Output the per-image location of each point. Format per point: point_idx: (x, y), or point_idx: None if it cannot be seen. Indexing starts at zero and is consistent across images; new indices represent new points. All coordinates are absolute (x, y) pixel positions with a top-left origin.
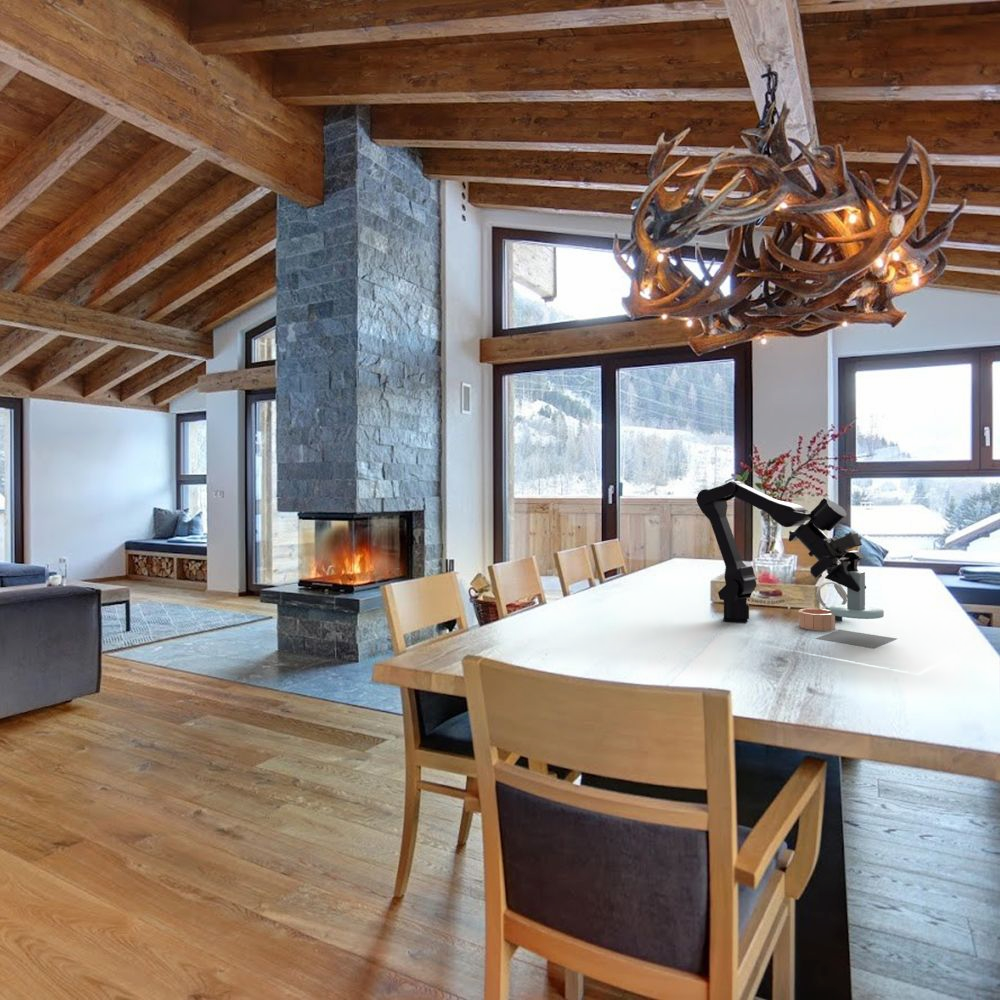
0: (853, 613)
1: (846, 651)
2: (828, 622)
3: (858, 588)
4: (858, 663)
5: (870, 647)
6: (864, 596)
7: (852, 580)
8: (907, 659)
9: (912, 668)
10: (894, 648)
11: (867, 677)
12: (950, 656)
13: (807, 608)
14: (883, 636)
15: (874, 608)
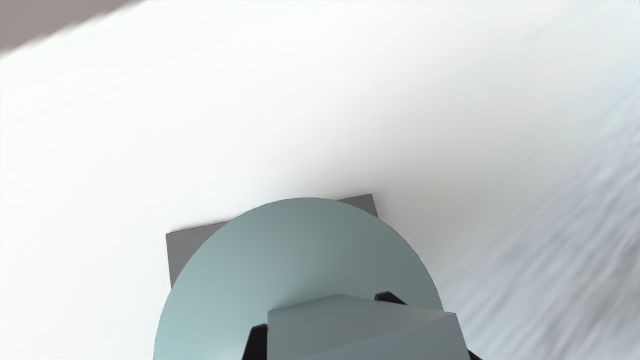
0: (422, 265)
1: (452, 232)
2: None
3: (398, 299)
4: (516, 139)
5: (370, 206)
6: (275, 318)
7: (474, 356)
8: (377, 92)
9: (437, 51)
10: (294, 174)
11: (575, 71)
12: (250, 46)
13: None
14: (172, 285)
15: (202, 293)
